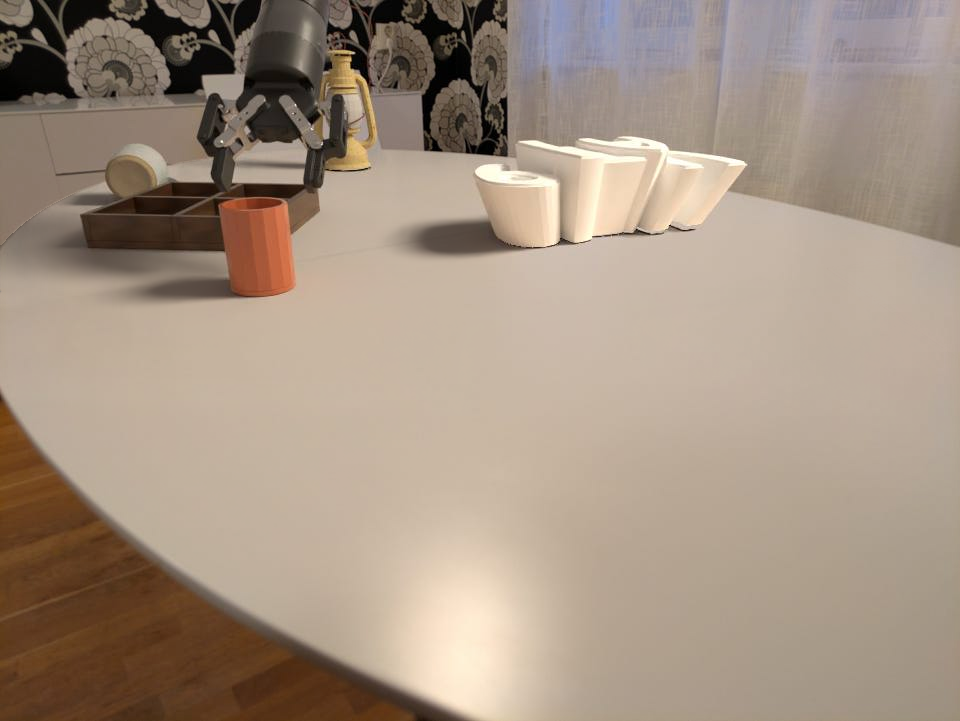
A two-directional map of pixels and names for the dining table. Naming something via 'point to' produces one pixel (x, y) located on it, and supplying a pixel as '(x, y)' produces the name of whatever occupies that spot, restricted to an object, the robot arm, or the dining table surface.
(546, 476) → the dining table surface
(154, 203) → the tray
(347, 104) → the lantern
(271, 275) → the cup
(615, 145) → the white wavy slab sculpture
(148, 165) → the ceramic mug
